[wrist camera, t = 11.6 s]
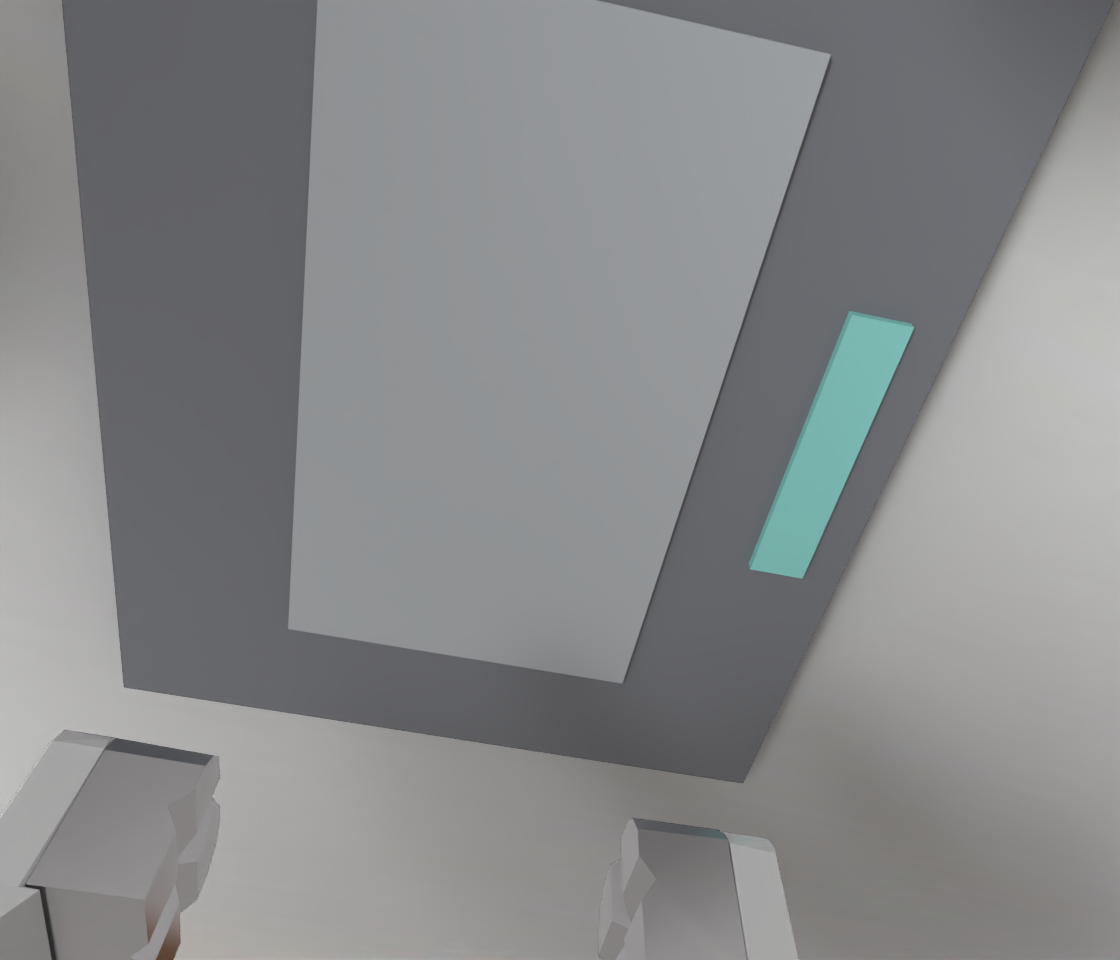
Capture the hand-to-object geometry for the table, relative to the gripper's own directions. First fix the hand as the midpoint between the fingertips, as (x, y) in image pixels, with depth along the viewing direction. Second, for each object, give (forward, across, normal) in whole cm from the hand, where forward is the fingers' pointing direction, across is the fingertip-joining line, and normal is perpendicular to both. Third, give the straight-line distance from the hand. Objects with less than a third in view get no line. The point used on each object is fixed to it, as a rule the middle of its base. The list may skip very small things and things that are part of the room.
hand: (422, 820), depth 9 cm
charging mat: (+11, 0, 0) cm, 11 cm away
